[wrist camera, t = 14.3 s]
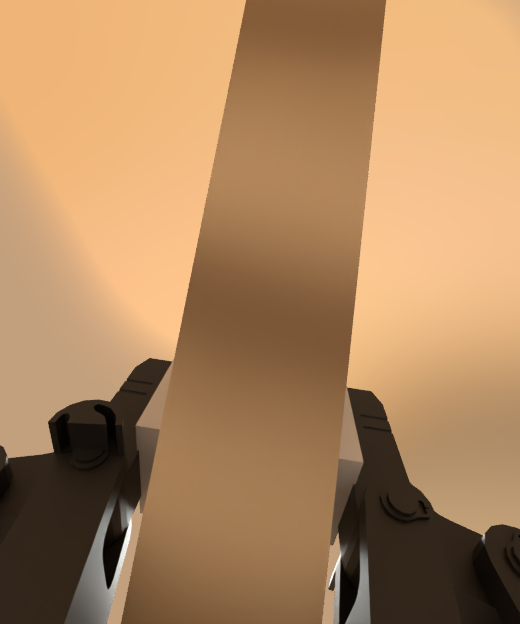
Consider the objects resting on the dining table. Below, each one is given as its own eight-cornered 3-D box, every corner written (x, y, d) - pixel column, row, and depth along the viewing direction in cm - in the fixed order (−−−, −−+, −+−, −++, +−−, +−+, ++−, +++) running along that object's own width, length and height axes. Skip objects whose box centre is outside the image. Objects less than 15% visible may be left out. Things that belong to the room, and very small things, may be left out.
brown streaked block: (285, 640, 8) (303, 804, 5) (155, 618, 8) (92, 766, 5) (390, -239, 13) (428, -414, 10) (315, -248, 13) (331, -424, 10)
